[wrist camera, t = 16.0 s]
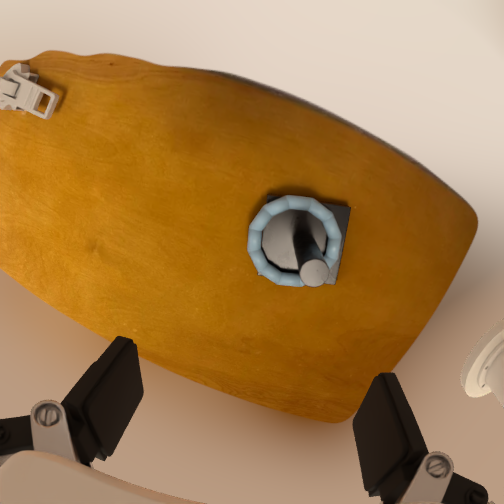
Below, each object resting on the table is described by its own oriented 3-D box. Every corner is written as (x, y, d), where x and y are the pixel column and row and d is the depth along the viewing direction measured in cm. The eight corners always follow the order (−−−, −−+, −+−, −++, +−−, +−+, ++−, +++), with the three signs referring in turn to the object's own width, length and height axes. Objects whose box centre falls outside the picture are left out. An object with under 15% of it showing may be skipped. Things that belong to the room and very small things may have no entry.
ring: (344, 201, 29) (348, 203, 28) (330, 286, 32) (332, 291, 31) (252, 190, 29) (251, 192, 28) (245, 278, 32) (244, 283, 31)
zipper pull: (54, 135, 30) (34, 135, 26) (0, 104, 28) (-17, 103, 24) (77, 83, 27) (57, 77, 23) (18, 61, 26) (1, 58, 22)
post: (348, 205, 30) (380, 225, 20) (333, 280, 33) (353, 326, 23) (267, 193, 30) (264, 208, 21) (257, 271, 33) (250, 316, 24)
